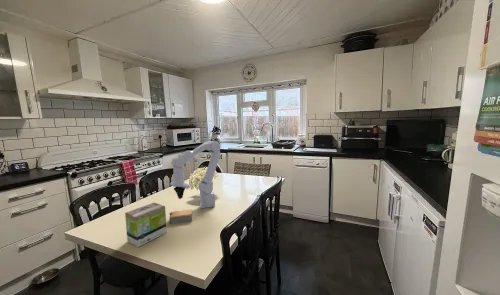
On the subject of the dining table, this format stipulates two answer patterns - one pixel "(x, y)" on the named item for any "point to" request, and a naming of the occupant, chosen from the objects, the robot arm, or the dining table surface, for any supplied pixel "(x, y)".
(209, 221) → the dining table surface
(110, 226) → the dining table surface
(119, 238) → the dining table surface
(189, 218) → the grey angled bars
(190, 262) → the dining table surface
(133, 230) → the tea box
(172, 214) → the cover
